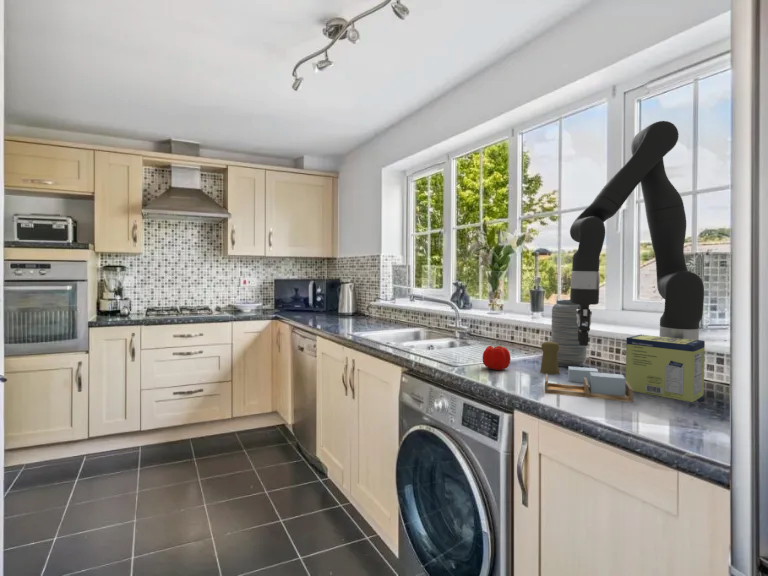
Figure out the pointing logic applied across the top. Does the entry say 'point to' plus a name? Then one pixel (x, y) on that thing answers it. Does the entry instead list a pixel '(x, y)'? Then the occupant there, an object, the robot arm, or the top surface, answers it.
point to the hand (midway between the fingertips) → (582, 343)
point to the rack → (585, 391)
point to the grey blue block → (580, 373)
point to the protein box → (666, 366)
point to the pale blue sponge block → (607, 384)
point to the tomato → (496, 358)
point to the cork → (550, 358)
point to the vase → (567, 334)
